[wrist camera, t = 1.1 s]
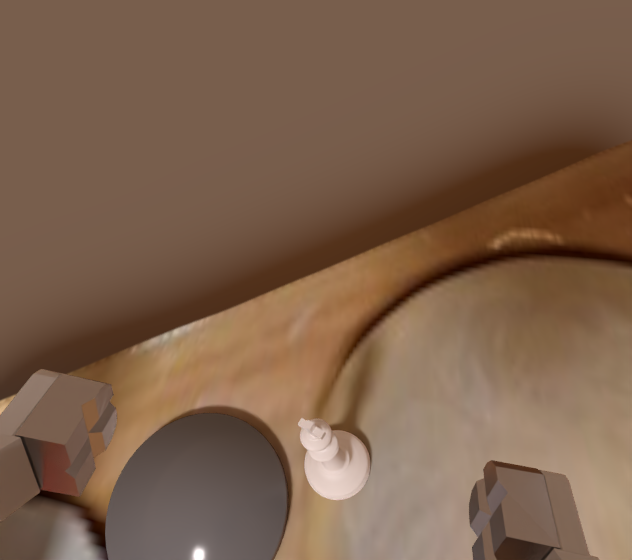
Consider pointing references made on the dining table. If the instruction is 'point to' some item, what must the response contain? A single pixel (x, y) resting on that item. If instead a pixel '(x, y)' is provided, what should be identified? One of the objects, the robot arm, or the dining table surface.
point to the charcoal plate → (199, 495)
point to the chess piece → (333, 460)
